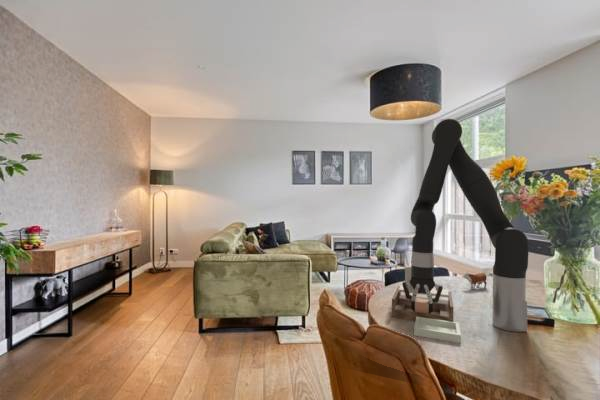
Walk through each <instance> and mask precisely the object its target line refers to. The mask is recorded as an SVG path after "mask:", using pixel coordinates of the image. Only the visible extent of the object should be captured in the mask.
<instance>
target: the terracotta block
mask: <svg viewBox="0 0 600 400" xmlns="http://www.w3.org/2000/svg"><path fill="white" fill-rule="evenodd" d="M415 312H421V313H428V314H429V300H427V299H419V298H416V299H415Z"/></svg>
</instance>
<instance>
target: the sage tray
mask: <svg viewBox="0 0 600 400" xmlns="http://www.w3.org/2000/svg"><path fill="white" fill-rule="evenodd" d="M413 327H414V328H413V330H414V331H413V336H416V337H421V338H429V339H434V340H439V341H440V340H441V341H447V342H450V343H451V342H453V343H458V344H462V335H461V334H462V333H461V327H460V323H459V322H457V321H453V322H451V321H444V320H437V319H430V318H424V317H417V316H416V321H415V322H414V326H413Z"/></svg>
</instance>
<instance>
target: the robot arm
mask: <svg viewBox="0 0 600 400" xmlns="http://www.w3.org/2000/svg"><path fill="white" fill-rule="evenodd" d="M462 134H463V128H462V124H461V123H460V122H459V121H458V120H457V119H454V118H446V119H443V120H441V121H440V122H438V123H437V124H436V126H435V127H434V129H433V131H432V132H431V140H432V143H433V148H432V149H433V150H432V153H431V157H430V160H429V163H428V166H427V168H426V170H425V174H424V176H423V179H422V182H421V185H420V189H419V194H418V196H417V199H416V201H415V202H414V203H415V204H414V205H413V208H412V210H411V213H410V221H411V223H412V225H413V226H414V227H415V232H414V233H415V234H414V236H413V237H412V242H411V243H412V244H411V245H412V246H411V247H412V248H411V261H410V264H411V265H410V266H411V279H410V281H405V280H403V282H402V283H401V285H403V289H404V292H403V293H404V295H405V296H406V298H407V299H410V300H411V309H412V310H413V311H414V312H415V298H416V297H417V295H418V294H417V293H424V294H427V295H426V296H427V297H426V298H428V300H429V314H431V312H433V303H435V302H436V303H437V302H438V301H439V299H440V298H441V297H440V295H441V292H442V289H444V287H443V285H442V284H437V283H436V281H434V280H435V279H434V278H435V277H434V274H435V273H434V272H435V270H434V269H435V268H434V267H435V261H434V260H435V259H434V237H435V234H436V229H437V218H436V215H435V212H433V210H434V207H435V205H436V204H438V203H439V200H440V198H441V194H442V191H443V187H444V183H445V181H446V180H445V179H446V177H447V173H448V168H450V170H451V172H452V175H453V176H454V179H455V180H456V181H457V184H458V186H459V188H460V189H461V191H462V194H464V197H465V198H466V201H468V203H469V204H470V206H471V207H472V209H473V210H474V211H475V213H476V214H477V216H478V217H479V219H480V220H481V222H482V224H483V226H484V228H485V230H486V232H487V235H488V236H489V239H490V241H491V244H492V246H493V248H494V251H495V252H494V255H495V256H494V263H493V266H492V325H493V326H494V327H496V328H498V329H500V330H504V331H509V332H514V333H516V332H517V333H522V332H523V333H527V332H528V301H526V278H527V277H526V276H527V275H526V274H527V271H528V266H529V240H528V237H527V235H526V234H525V233H524V232H523V231H522V230H520V229H518V228H515V227H514V226H513V224H512V223H511V222H510V220H509V219H508V217H507V216H506V214H505V212H504V211H503V209H502V206H501V203H500V200H499V197H498V193H497V191H496V189H495V187H494V184H493V183H492V181H491V179H490V178H489V176H488V174H487V173H486V172H485V171H484V169H483V168H482V167H481V166H480V165H479V164H478V163H477V162H476V161H474V159H473V158H472V157H471V156H470V155H469V154H468V152H467V151H466V149H465V147H464V145H463V143H462V141H461V137H462ZM409 284H411V286H412V287H413V289H414V292H413V293H412V295H411V293H409V290H408V287H409ZM433 288H436V291H437V293H436V296H434V297H433V296H432V295H431V292H430V291H431V290H432V289H433Z"/></svg>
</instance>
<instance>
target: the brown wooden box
mask: <svg viewBox="0 0 600 400" xmlns="http://www.w3.org/2000/svg"><path fill="white" fill-rule="evenodd" d="M400 286H401V285H398V286H397V288H396V290H395V292H394V294H393V295H392V298H391V318H395V319H400V320H407V321H416V316H417V317H424V318H430V319H437V320H444V321H451V322H454V302H453V295H452V292H451V291H448V294H449V297H447V298H448V299H447V300H446V299H440V298H439V301H438V302H437V303H436V302H435V303H433V312H431V314H428V313H421V312H414V311H413V310H412V309H411V300H410V299H407V298H406V296H405V294H401V293H402V292H399V288H400ZM416 298H419V299H427V300H428V297H423V296H422V297H421V296H416ZM416 298H415V299H416Z"/></svg>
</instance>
